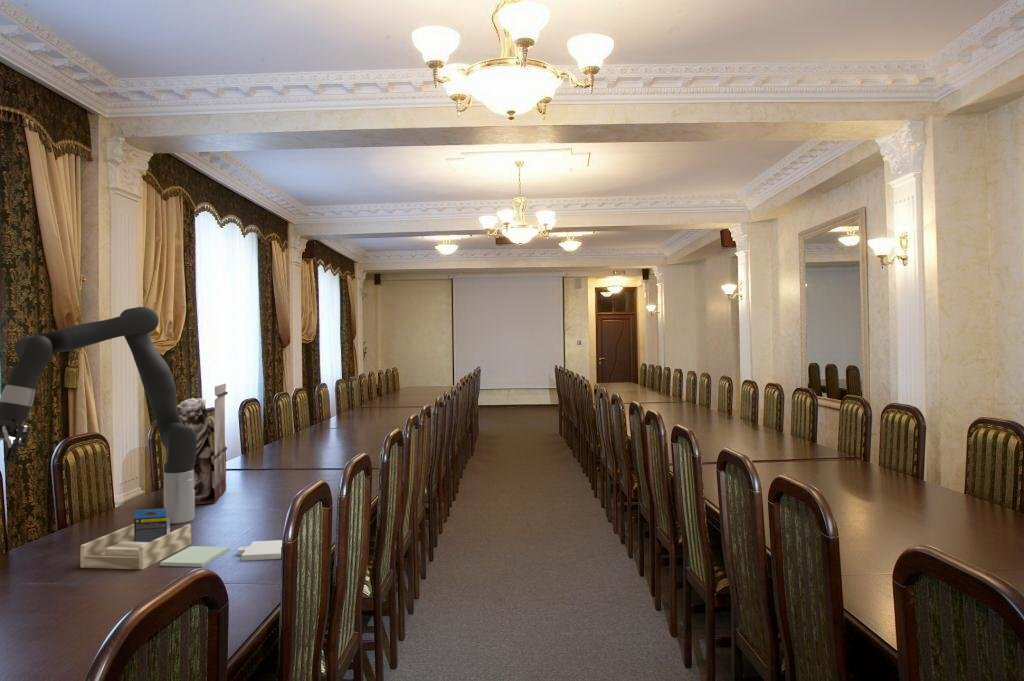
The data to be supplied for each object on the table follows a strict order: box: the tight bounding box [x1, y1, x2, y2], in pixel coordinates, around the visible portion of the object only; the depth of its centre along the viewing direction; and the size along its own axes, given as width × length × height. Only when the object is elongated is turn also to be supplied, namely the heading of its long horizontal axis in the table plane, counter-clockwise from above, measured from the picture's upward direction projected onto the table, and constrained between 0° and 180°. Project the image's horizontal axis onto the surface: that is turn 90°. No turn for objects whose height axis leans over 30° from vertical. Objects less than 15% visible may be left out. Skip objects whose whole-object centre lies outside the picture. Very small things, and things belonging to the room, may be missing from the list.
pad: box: [159, 545, 230, 568], centre depth 181 cm, size 14×12×1 cm
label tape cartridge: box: [133, 507, 171, 542], centre depth 190 cm, size 9×4×12 cm, turn 103°
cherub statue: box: [176, 383, 229, 506], centre depth 253 cm, size 23×19×45 cm
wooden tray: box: [79, 523, 192, 570], centre depth 184 cm, size 22×18×6 cm
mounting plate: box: [237, 539, 283, 562], centre depth 186 cm, size 18×13×2 cm
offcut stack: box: [100, 541, 149, 557], centre depth 179 cm, size 7×12×4 cm, turn 85°
